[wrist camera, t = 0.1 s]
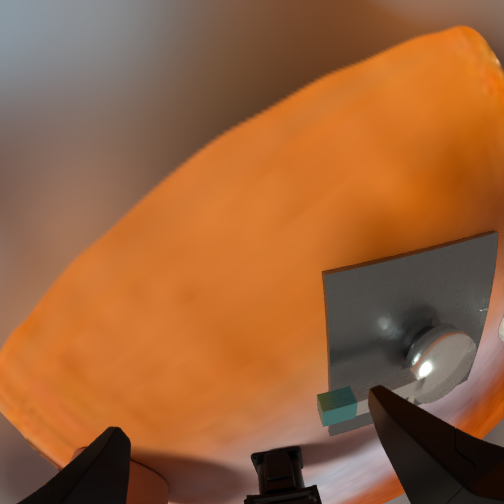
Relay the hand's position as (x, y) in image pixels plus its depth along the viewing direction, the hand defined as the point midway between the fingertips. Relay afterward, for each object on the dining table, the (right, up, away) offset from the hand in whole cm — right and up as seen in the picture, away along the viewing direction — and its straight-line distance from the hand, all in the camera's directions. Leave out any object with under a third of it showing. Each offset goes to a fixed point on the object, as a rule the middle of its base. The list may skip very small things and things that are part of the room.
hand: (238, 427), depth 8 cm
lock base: (+19, -4, +17) cm, 26 cm away
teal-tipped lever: (+15, -6, +15) cm, 21 cm away
